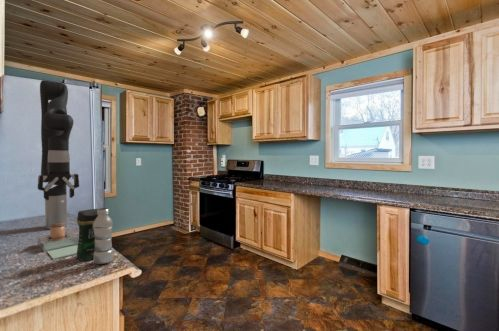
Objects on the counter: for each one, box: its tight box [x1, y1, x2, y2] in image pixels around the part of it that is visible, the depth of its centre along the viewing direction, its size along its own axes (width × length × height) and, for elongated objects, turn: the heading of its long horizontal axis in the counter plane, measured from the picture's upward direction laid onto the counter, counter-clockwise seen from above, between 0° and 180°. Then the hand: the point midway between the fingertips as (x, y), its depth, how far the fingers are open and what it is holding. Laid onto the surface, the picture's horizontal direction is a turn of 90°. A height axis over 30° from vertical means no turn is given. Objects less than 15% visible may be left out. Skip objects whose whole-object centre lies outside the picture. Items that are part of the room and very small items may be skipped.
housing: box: [36, 230, 79, 253], centre depth 114 cm, size 12×12×4 cm
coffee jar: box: [76, 207, 101, 261], centre depth 102 cm, size 10×8×19 cm
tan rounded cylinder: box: [49, 223, 66, 239], centre depth 114 cm, size 5×5×9 cm
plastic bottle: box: [92, 207, 114, 265], centre depth 96 cm, size 6×7×20 cm
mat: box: [46, 245, 78, 260], centre depth 106 cm, size 10×10×1 cm
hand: (59, 198), depth 113 cm, fingers open, 8 cm apart
